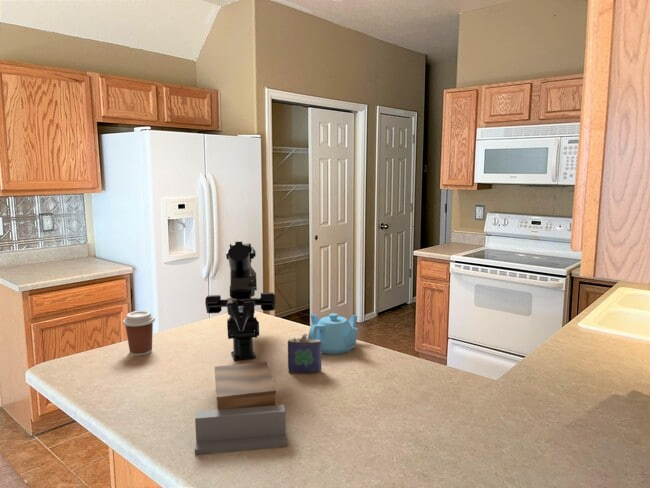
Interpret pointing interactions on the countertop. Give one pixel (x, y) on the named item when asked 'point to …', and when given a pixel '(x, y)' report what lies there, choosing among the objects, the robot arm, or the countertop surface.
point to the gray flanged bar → (240, 429)
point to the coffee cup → (139, 332)
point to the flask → (304, 355)
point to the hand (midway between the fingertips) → (241, 330)
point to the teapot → (334, 333)
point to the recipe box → (244, 386)
